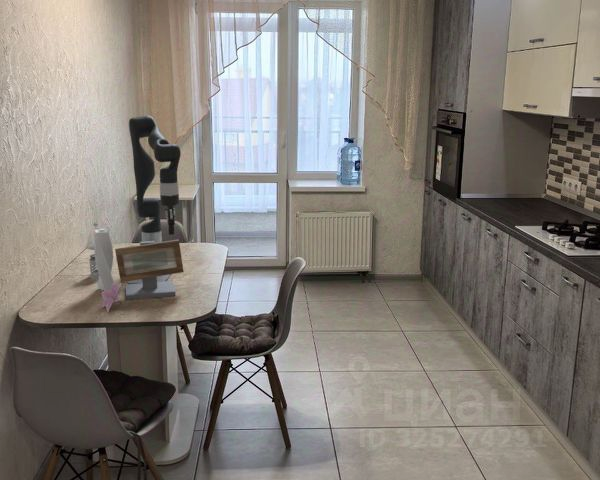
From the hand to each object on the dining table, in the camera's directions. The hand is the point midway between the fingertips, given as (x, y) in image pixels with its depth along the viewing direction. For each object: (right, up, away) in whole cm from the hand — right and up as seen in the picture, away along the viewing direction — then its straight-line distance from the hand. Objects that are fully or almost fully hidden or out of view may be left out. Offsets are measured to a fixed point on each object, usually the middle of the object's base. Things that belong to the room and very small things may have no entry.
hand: (171, 234), depth 267 cm
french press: (-38, -19, +30) cm, 52 cm away
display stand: (-10, -24, +6) cm, 27 cm away
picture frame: (-8, -18, +2) cm, 20 cm away
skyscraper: (-30, -24, +10) cm, 39 cm away
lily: (-21, -29, -14) cm, 38 cm away
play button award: (-14, -21, +25) cm, 35 cm away
